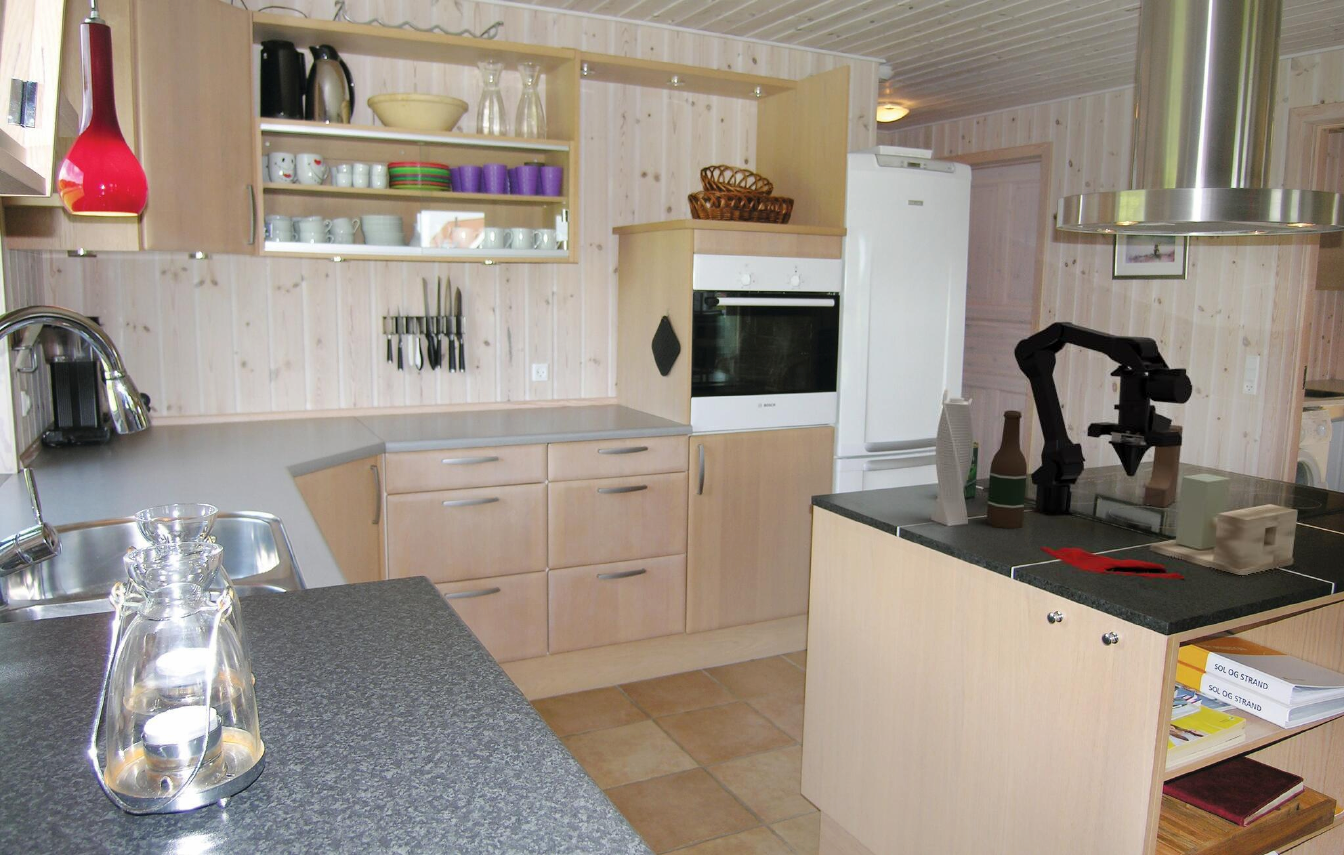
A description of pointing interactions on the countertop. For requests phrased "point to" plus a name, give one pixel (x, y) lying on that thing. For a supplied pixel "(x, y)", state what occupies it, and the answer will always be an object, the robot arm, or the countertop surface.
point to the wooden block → (1164, 475)
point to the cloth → (1105, 563)
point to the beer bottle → (1008, 478)
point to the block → (1201, 509)
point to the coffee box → (972, 475)
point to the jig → (1243, 541)
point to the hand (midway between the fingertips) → (1130, 476)
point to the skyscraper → (953, 460)
